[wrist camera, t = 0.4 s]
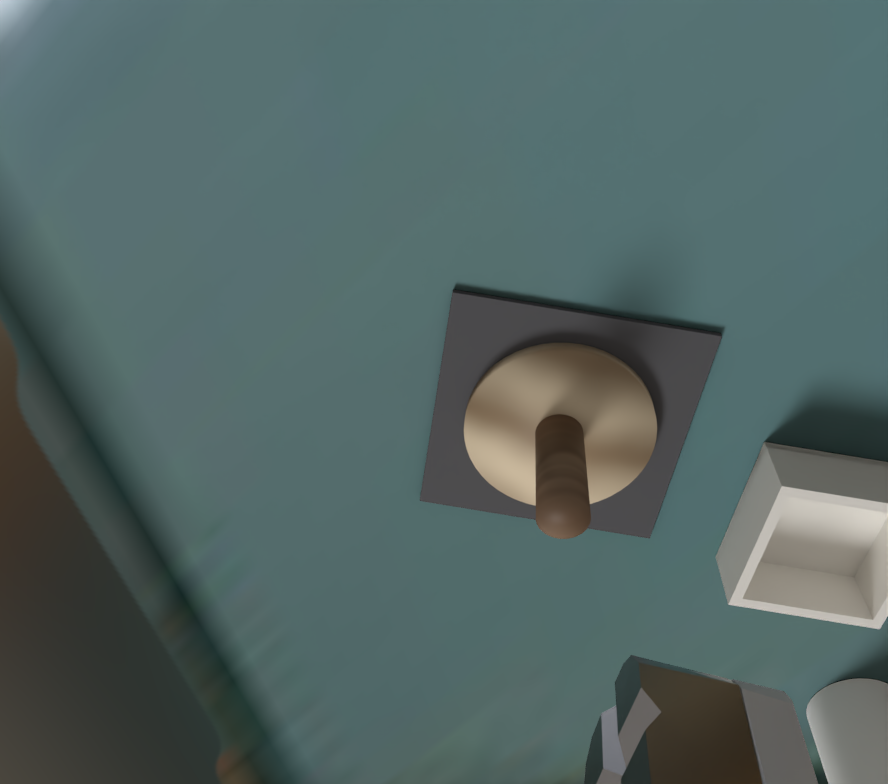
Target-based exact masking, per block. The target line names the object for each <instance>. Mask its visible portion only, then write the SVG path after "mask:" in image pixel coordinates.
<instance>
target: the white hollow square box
mask: <svg viewBox="0 0 888 784" xmlns="http://www.w3.org/2000/svg"><path fill="white" fill-rule="evenodd" d="M716 559H717V563H718V567H719V571H720V575H721V578H722V582H723V586H724V590H725V594H726V597H727V601H728V605H735V606H741V607H747V608H753V609H759V610H765V611H771V612H777V613H783V614H790V615H796V616H802V617H808V618H814V619H820V620H826V621H832V622H838V623H845V624H851V625H857V626H863V627H869V628H875V629H880V628H881V626H882V624H883V623H884V621H885V620H886V618H887V616H888V462H884V461H878V460H872V459H866V458H860V457H854V456H848V455H842V454H835V453H829V452H823V451H817V450H811V449H805V448H799V447H793V446H787V445H780V444H774V443H768V442H764V444H763V446H762V448H761V451H760V453H759V456H758V458H757V460H756V463H755V465H754V467H753V470H752V472H751V474H750V477H749V479H748V482H747V484H746V486H745V489H744V491H743V493H742V496H741V498H740V501H739V503H738V505H737V508H736V510H735V512H734V515H733V517H732V520H731V522H730V524H729V527H728V529H727V531H726V534H725V536H724V538H723V541H722V543H721V546H720V548H719V550H718V553H717V555H716Z"/></svg>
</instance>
